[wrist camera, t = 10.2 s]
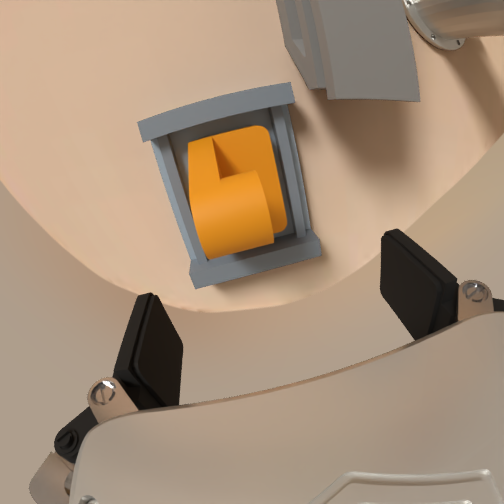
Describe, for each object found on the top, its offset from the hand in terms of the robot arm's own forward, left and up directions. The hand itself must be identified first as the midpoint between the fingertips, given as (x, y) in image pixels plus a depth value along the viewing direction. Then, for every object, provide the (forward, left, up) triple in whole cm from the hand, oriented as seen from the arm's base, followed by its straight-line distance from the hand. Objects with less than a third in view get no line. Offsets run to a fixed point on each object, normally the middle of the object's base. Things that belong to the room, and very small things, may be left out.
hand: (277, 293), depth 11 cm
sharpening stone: (-13, -19, -21) cm, 31 cm away
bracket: (0, 0, -20) cm, 20 cm away
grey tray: (0, 0, -21) cm, 21 cm away
